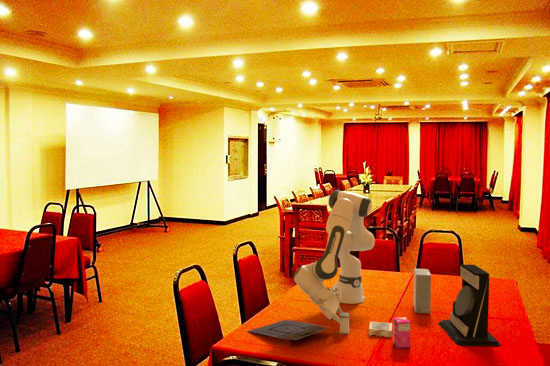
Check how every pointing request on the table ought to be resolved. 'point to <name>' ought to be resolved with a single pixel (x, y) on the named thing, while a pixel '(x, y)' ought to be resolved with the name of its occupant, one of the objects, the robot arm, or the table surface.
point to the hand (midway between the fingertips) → (342, 318)
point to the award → (471, 310)
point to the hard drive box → (422, 291)
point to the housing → (344, 323)
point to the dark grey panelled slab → (289, 329)
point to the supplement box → (401, 332)
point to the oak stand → (380, 329)
